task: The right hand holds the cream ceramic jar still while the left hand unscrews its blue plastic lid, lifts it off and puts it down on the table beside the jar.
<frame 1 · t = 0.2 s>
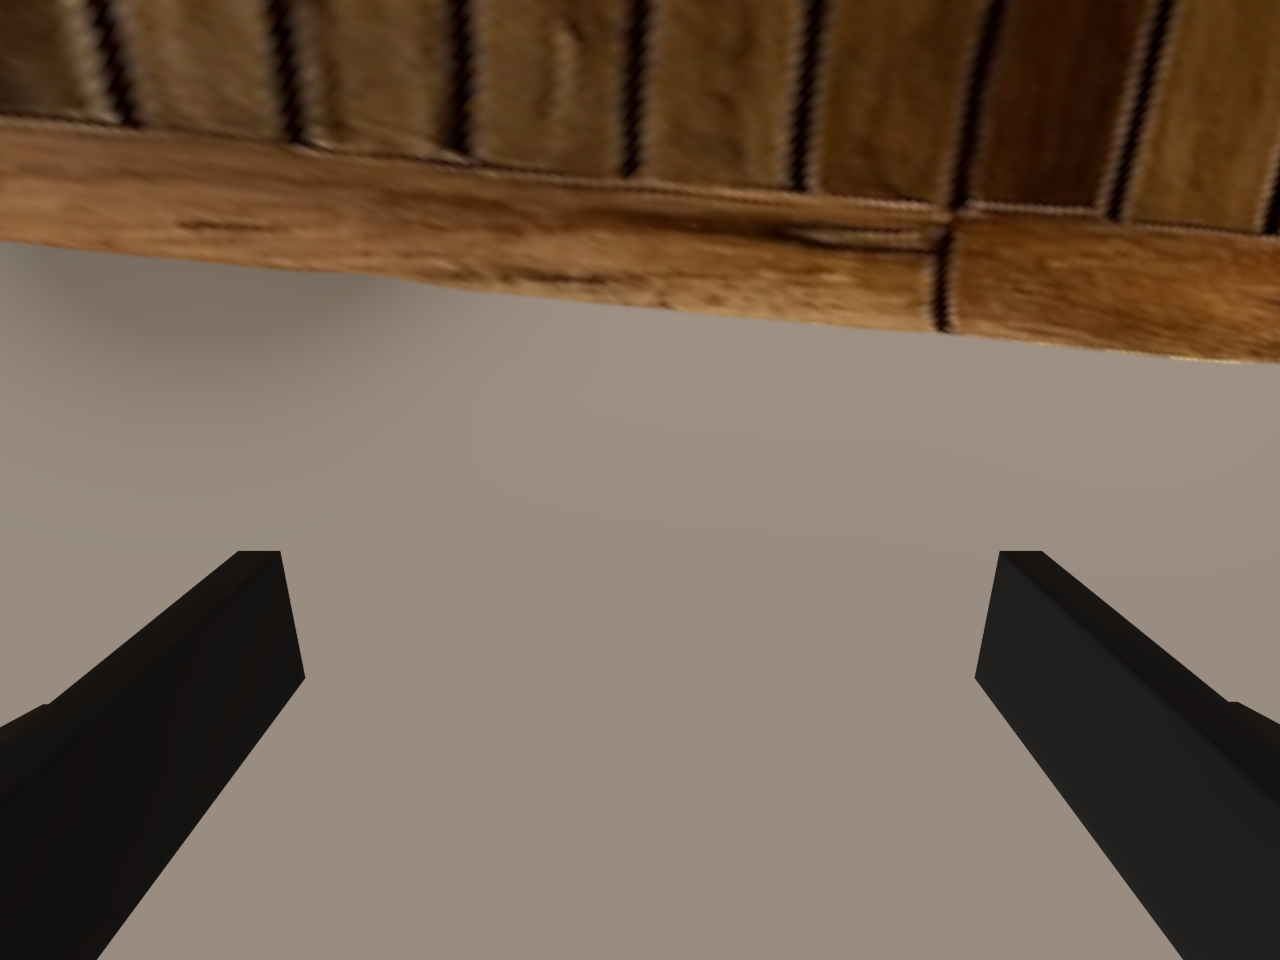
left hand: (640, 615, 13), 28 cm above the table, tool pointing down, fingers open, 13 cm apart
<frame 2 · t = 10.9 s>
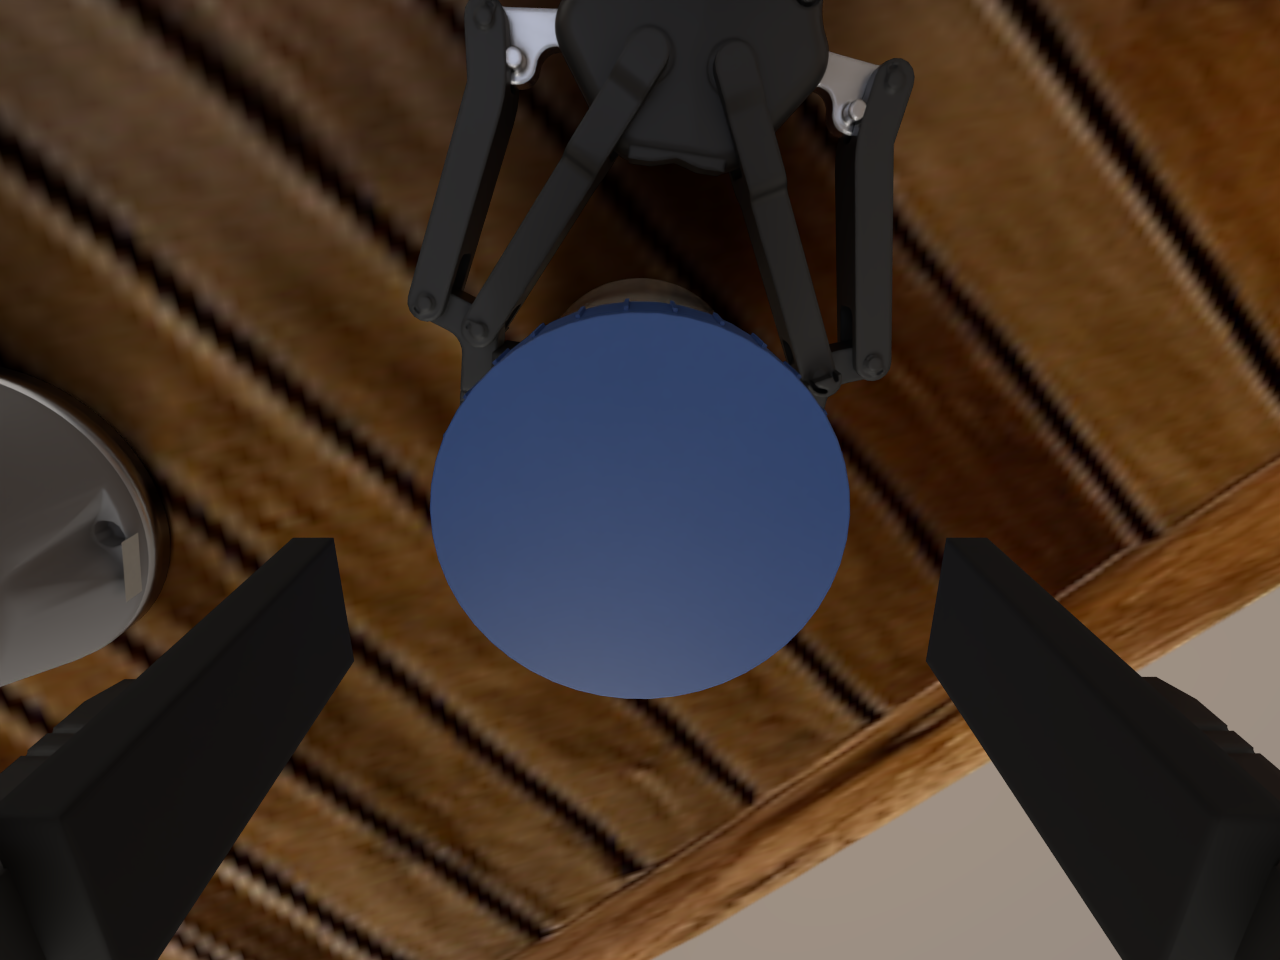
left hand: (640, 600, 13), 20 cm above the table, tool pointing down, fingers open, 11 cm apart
right hand: (625, 527, 27), fingers closed on jar, 9 cm apart
jar: (640, 381, 32), on the table, touching right hand
lid: (640, 520, 17), point 16 cm above the table, screwed on, not yet turned
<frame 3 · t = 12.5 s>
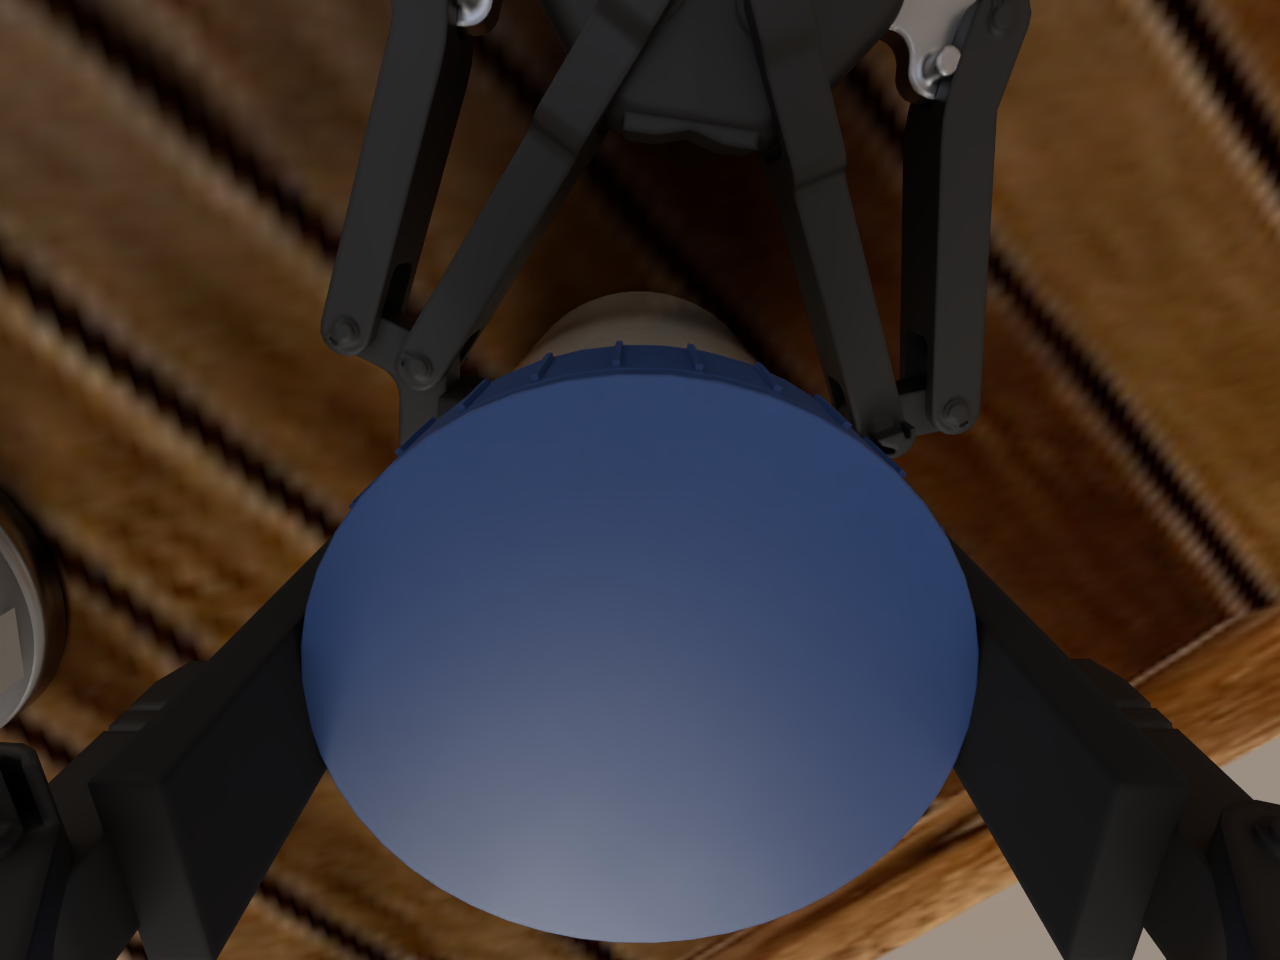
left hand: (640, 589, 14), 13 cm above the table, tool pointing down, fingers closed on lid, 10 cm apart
right hand: (620, 617, 21), fingers closed on jar, 9 cm apart
jar: (639, 419, 26), on the table, touching right hand
lid: (639, 691, 11), point 16 cm above the table, screwed on, not yet turned, touching left hand
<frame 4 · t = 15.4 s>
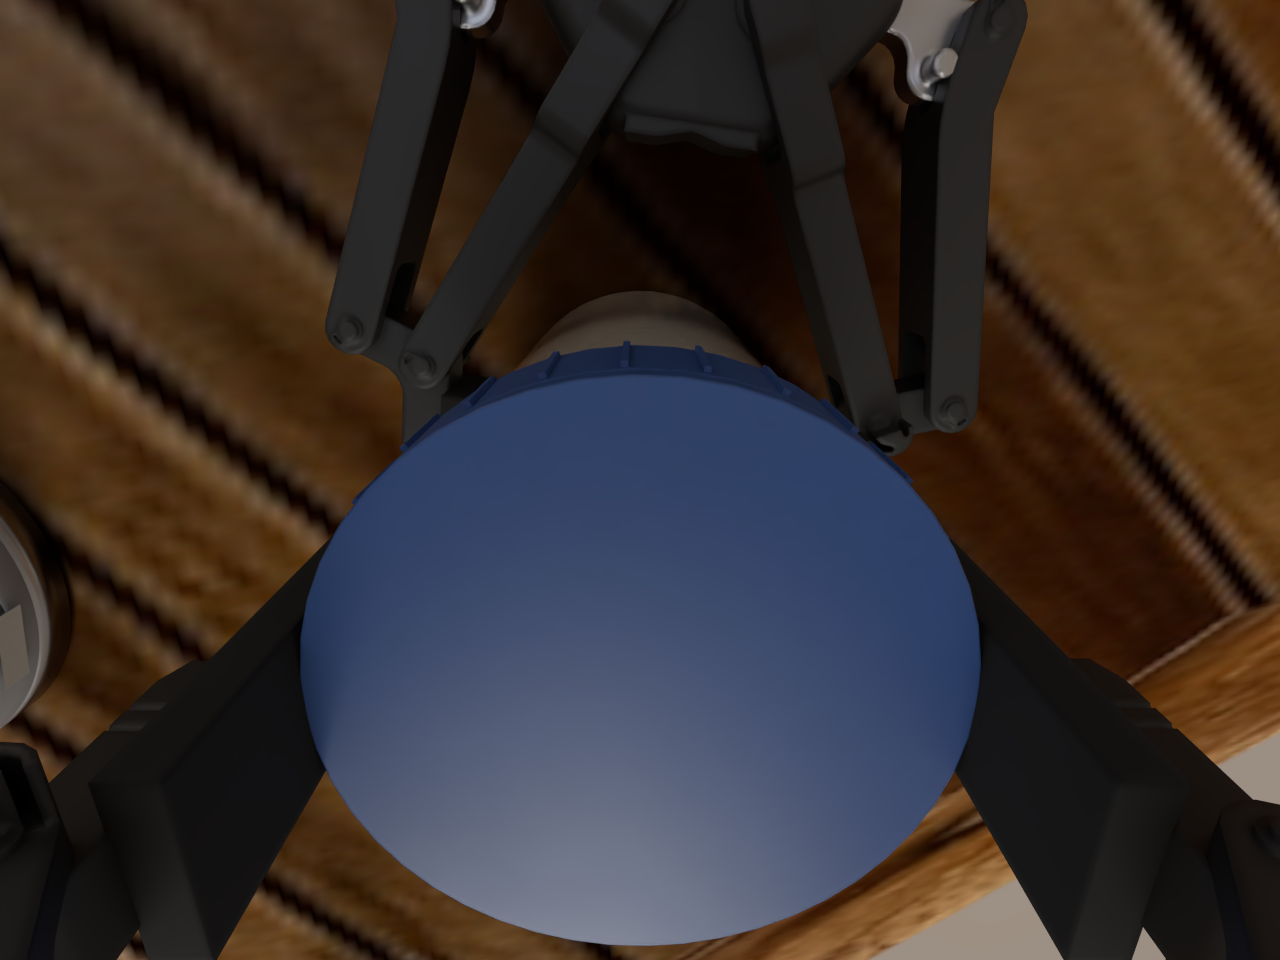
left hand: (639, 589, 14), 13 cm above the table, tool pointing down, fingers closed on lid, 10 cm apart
right hand: (621, 613, 21), fingers closed on jar, 9 cm apart
jar: (640, 417, 26), on the table, touching right hand
lid: (640, 693, 11), point 16 cm above the table, turned 73° so far, risen 0.2 cm, still on its thread, touching left hand
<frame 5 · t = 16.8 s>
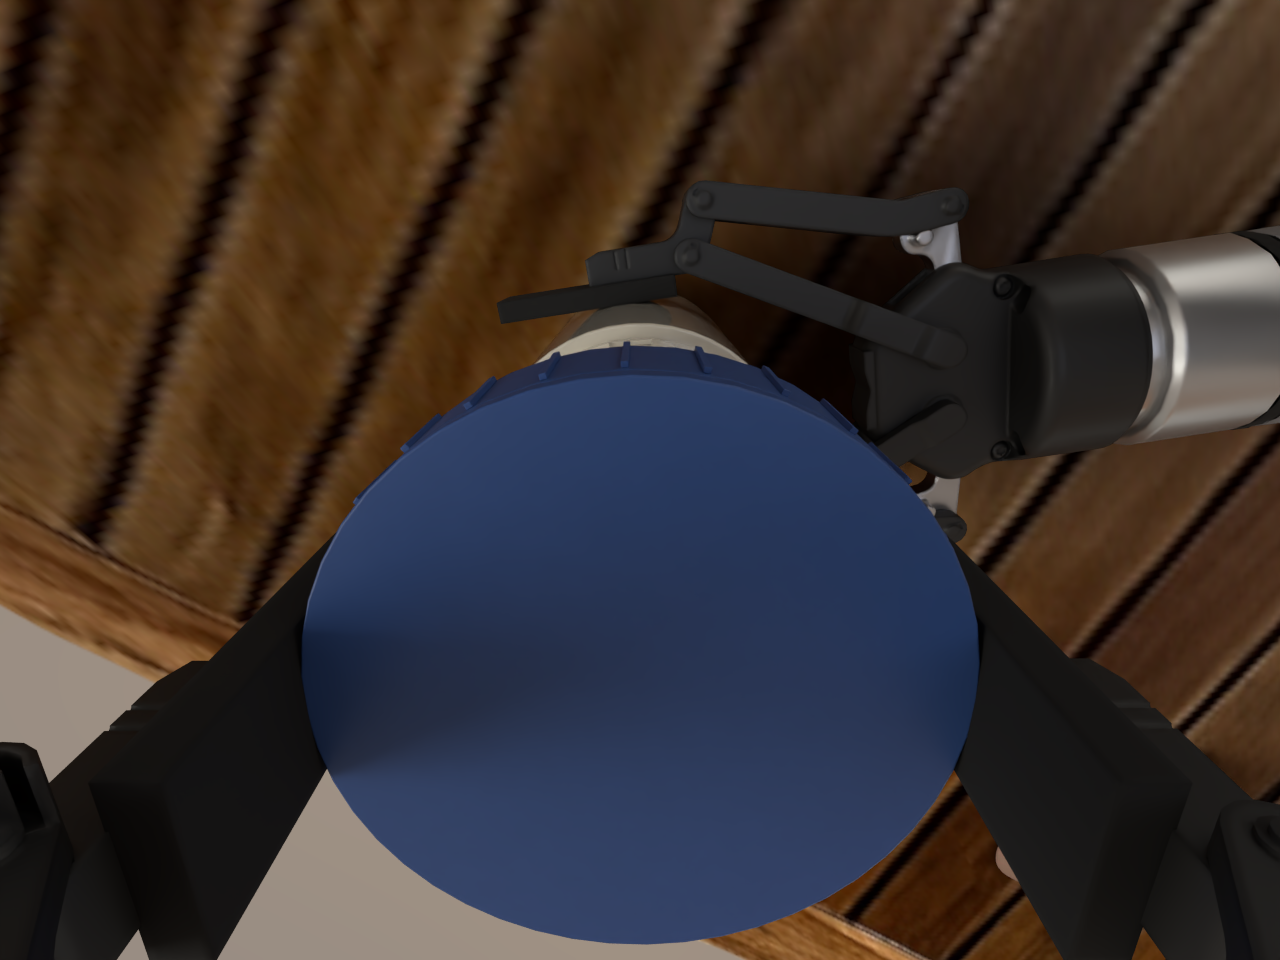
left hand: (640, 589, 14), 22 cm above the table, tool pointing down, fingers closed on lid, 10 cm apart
right hand: (532, 434, 28), fingers closed on jar, 9 cm apart
jar: (640, 384, 34), on the table, touching right hand
lid: (640, 693, 11), point 25 cm above the table, off its thread, touching left hand
when the left hand's fingers open (0 cm above the table, at t = 22.0 s): lid drops 1 cm, point 2 cm above the table.
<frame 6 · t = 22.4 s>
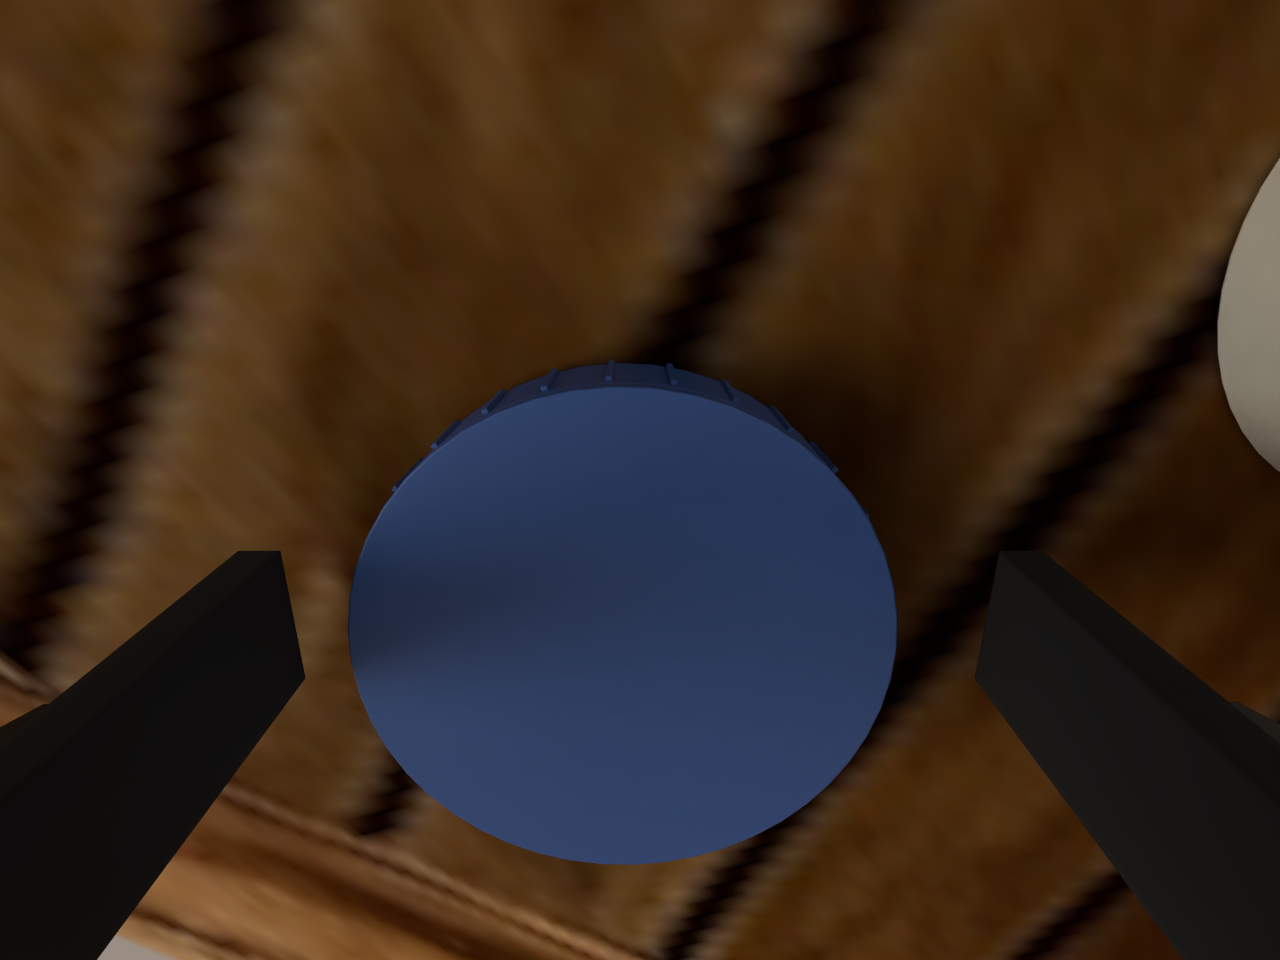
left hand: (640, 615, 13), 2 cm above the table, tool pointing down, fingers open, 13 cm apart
lid: (624, 646, 13), point 2 cm above the table, off its thread
when the right hand's fingers open (7 cm above the table, at t = 23.0 s): jar stays where it is, on the table.
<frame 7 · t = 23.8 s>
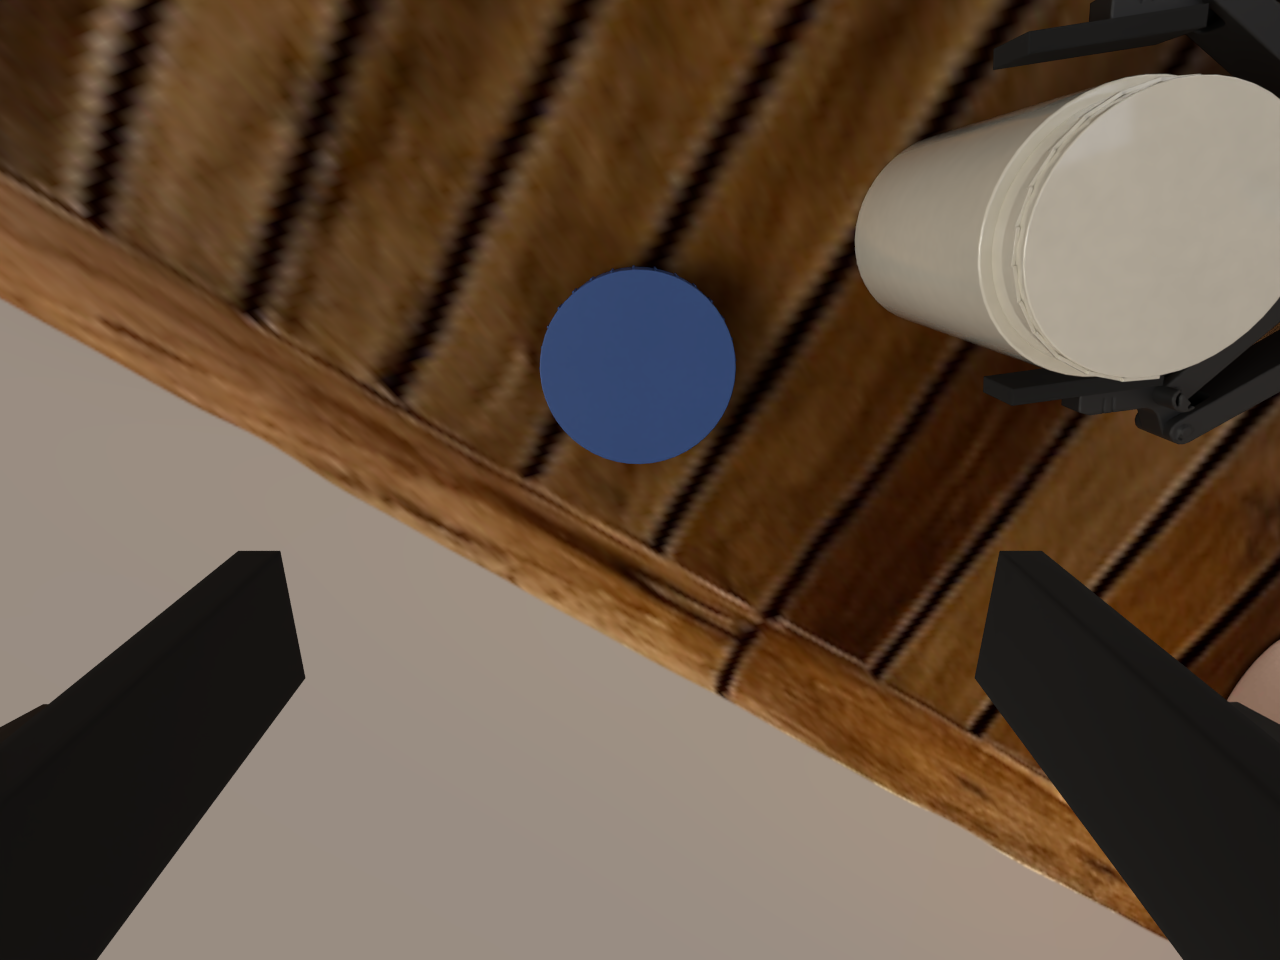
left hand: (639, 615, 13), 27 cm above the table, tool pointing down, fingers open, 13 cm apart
jar: (945, 232, 36), on the table
lid: (637, 370, 36), point 2 cm above the table, off its thread
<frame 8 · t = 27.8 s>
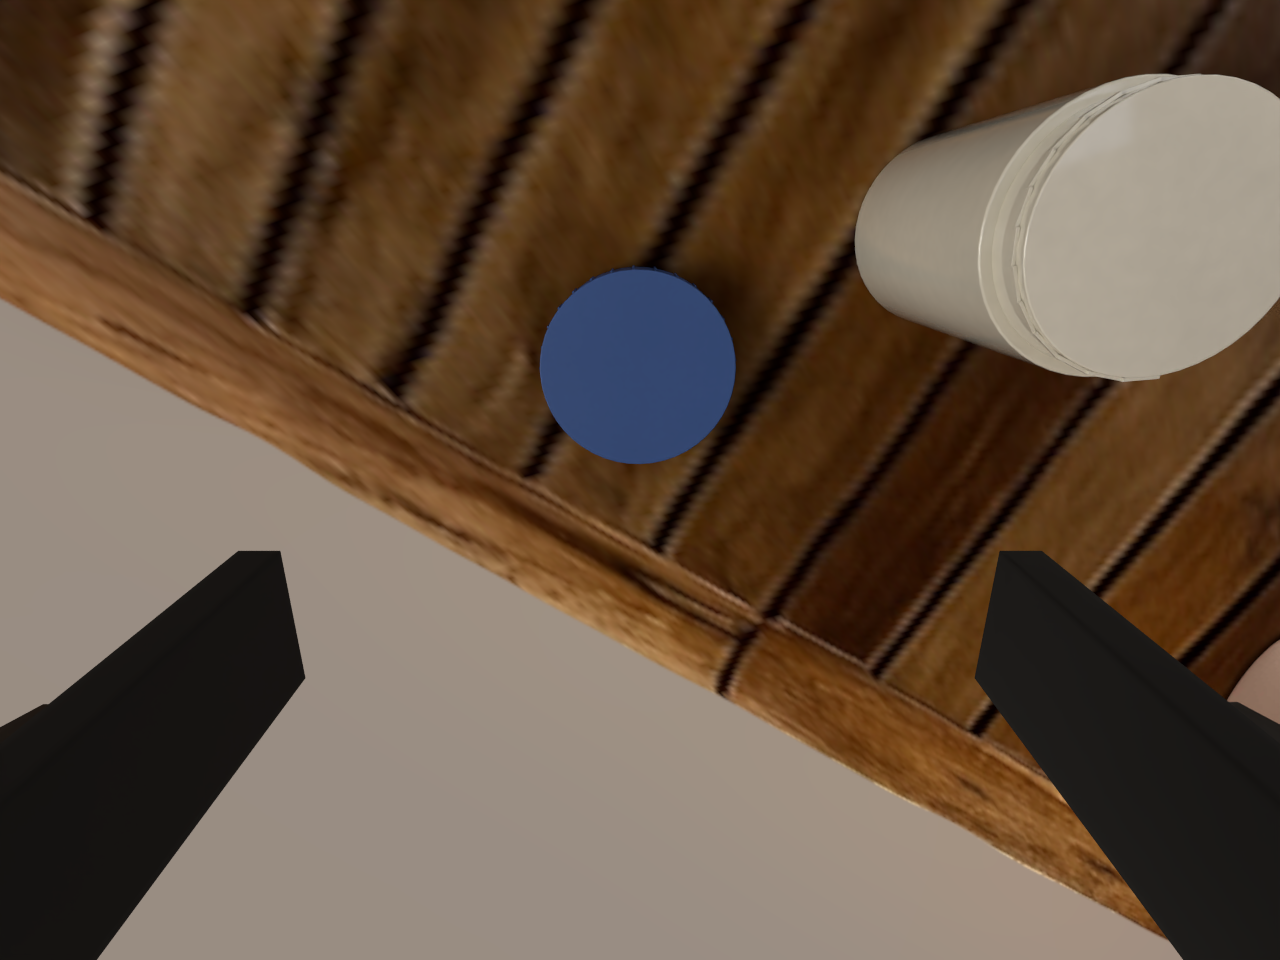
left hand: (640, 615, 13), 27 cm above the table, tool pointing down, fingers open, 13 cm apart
jar: (945, 232, 36), on the table
lid: (637, 370, 36), point 2 cm above the table, off its thread
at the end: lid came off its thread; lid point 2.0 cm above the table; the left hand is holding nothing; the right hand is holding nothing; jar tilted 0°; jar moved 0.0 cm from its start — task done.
